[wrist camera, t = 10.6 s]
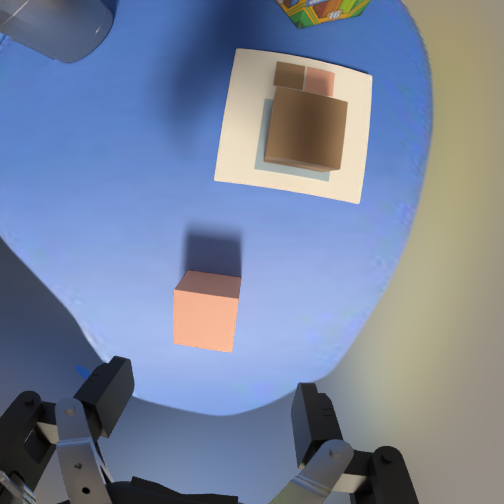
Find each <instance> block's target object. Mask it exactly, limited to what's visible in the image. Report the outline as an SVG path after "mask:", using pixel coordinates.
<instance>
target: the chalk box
mask: <svg viewBox="0 0 504 504" xmlns="http://www.w3.org/2000/svg"><path fill="white" fill-rule="evenodd" d="M275 1H276V2H277V3H278V5H279V6H280V7H281V8H282V9H283V11H284V12H285V13H286V14H287V15H288V17H289V18H290V19H291V20H292V21H293V23H294V24H295V25H296V26H297V28H299V29H301V28H304V27H308V26H312V25H316V24H320V23H325V22H329V21H334V20H339V19H344V18H349V17H355V16H360V15H361V14H362V12H363V11H364V9H365V8H366V6H367V5H368V4H369V2H370V1H371V0H275Z"/></svg>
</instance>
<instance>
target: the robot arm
mask: <svg viewBox="0 0 504 504" xmlns="http://www.w3.org/2000/svg"><path fill="white" fill-rule="evenodd" d="M112 22H113V14H112V12H111V11H110V10H109V9H108V8H107V6H106V5H105V4H104V3H103V2H102V1H101V0H0V32H1V33H3V34H5V35H8V36H10V37H11V39H12V40H13V41H15V42H18V43H20V44H22V45H24V46H26V47H28V48H31V49H33V50H35V51H37V52H39V53H41V54H43V55H45V56H47V57H49V58H51V59H57V60H59V61H61V62H63V63H72V62H75V61H78V60H80V59H82V58H83V57H85V56H87V55H88V54H89V53H90V52H92V51H93V50H94V49H95V48H96V47H97V46H98V45H99V44H100V43H101V42H102V41H103V39H104V38H105V37H106V35H107V34H108V32H109V30H110V28H111V26H112ZM133 391H134V378H133V372H132V366H131V361H130V359H127V358H123V357H119V356H114V357H113V358H112V359H111V361H110V362H109V363H103V364H101V365H100V366H98V367H97V368H96V369H95V370H94V371H93V373H92V375H90V376H89V377H88V380H86V381H85V383H84V384H83V385H82V386H81V388H80V389H79V390H78V391H77V393H76V394H75V395H74V397H73V398H64V399H61V400H60V401H58V402H57V404H56V403H50V402H44V401H42V400H41V398H40V396H39V394H37V393H36V392H34V391H25V392H22V393H21V394H19V395H18V397H17V398H16V399H15V400H14V401H13V403H12V404H11V405H10V406H9V408H8V409H7V410H6V411H5V413H4V414H3V415H2V416H1V418H0V504H36V497H35V494H34V490H35V488H36V486H37V484H38V482H39V480H40V478H41V476H42V474H43V472H44V470H45V468H46V466H47V464H48V462H49V460H50V459H51V457H52V455H53V453H54V451H55V449H56V448H57V453H58V458H59V462H60V468H61V471H62V476H63V480H64V483H65V487H66V491H67V494H68V498H69V500H66V501H64V502H61V503H58V504H243V503H240V502H238V496H228V495H218V494H180V493H178V492H175V491H173V490H171V489H169V488H167V487H164V486H162V485H160V484H158V483H155V482H151V481H147V480H144V479H141V478H137V477H134V476H133V477H132V480H131V482H130V481H120V482H114V481H113V479H112V477H111V475H110V473H109V471H108V469H107V466H106V463H105V460H104V457H103V454H102V452H101V448H100V445H99V442H98V439H99V437H100V436H103V437H106V438H109V436H110V434H111V432H112V430H113V429H114V427H115V425H116V423H117V421H118V419H119V417H120V415H121V414H122V412H123V410H124V408H125V406H126V404H127V402H128V401H129V399H130V397H131V395H132V394H133ZM291 418H292V425H293V434H294V441H295V450H296V457H297V466H298V469H303V470H302V471H301V472H300V473H299V474H298V476H295V477H294V478H293V479H292V480H291V481H290V482H289V483H288V484H287V485H286V486H285V487H284V488H283V490H282V491H281V492H280V493H279V494H278V495H277V496H276V497H275V498H274V499H273V500H272V501H271V502H270V503H269V504H323V503H324V501H325V499H326V498H327V497H328V496H329V494H330V493H331V490H334V491H341V492H349V495H350V500H351V504H419V502H418V499H417V496H416V493H415V490H414V487H413V485H412V482H411V479H410V476H409V473H408V470H407V468H406V465H405V462H404V459H403V457H402V454H401V453H400V452H399V450H397V449H396V448H394V447H391V446H382V447H379V448H378V449H376V450H375V452H374V453H371V452H363V451H357V450H354V449H353V448H352V447H351V446H350V444H348V443H347V442H345V441H344V440H343V437H342V434H341V430H340V427H339V424H338V421H337V417H336V414H335V411H334V408H333V405H332V401H331V400H330V398H329V397H328V396H327V395H326V394H325V393H318V392H317V388H316V385H315V383H298V385H297V389H296V393H295V396H294V400H293V403H292V409H291ZM31 431H32V432H31ZM30 432H31V434H30ZM29 434H30V435H29ZM28 435H29V437H28ZM27 437H28V439H27V440H26V438H27ZM25 440H26V442H25ZM24 442H25V443H24Z"/></svg>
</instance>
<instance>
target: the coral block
mask: <svg viewBox="0 0 504 504" xmlns="http://www.w3.org/2000/svg"><path fill="white" fill-rule="evenodd" d="M240 285H241V277H234V276H226V275H219V274H212V273H205V272H198V271H191V270H188V271H187V273H186V274H185V275H184V277H183V278H182V280H181V281H180V282H179V284H178V285H177V286H176V288H175V289H174V320H173V343H175V344H180V345H186V346H191V347H197V348H204V349H210V350H217V351H224V352H231V353H232V348H233V340H234V332H235V324H236V316H237V309H238V301H239V293H240Z"/></svg>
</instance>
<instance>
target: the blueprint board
mask: <svg viewBox="0 0 504 504" xmlns="http://www.w3.org/2000/svg"><path fill="white" fill-rule="evenodd" d="M276 87H283V88H289V89H294V90H299V91H304V92H309V93H314V94H318V95H323V96H327V97H331V98H335V99H339V100H342V101H346V102H348V106H347V117H346V126H345V135H344V144H343V152H342V160H341V167H340V170H334V171H328V172H317V171H312V170H307V169H302V168H296V167H291V166H285V165H279V164H273V163H266V162H264V156H265V149H266V143H267V136H268V129H269V123H270V116H271V109H272V104H273V100H274V95H275V91H276ZM371 94H372V76H371V75H368V74H365V73H362V72H358V71H355V70H352V69H348V68H345V67H341V66H338V65H334V64H330V63H326V62H322V61H318V60H313V59H308V58H304V57H298V56H293V55H287V54H281V53H275V52H267V51H259V50H250V49H239V48H237V49H236V54H235V58H234V63H233V68H232V74H231V79H230V84H229V90H228V95H227V101H226V106H225V112H224V118H223V124H222V130H221V137H220V143H219V150H218V156H217V163H216V170H215V178H214V181H223V182H231V183H239V184H246V185H253V186H260V187H267V188H274V189H280V190H286V191H292V192H298V193H304V194H310V195H315V196H321V197H326V198H331V199H336V200H341V201H346V202H351V203H356V204H359V203H360V197H361V191H362V184H363V177H364V170H365V162H366V154H367V145H368V135H369V124H370V111H371Z"/></svg>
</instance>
